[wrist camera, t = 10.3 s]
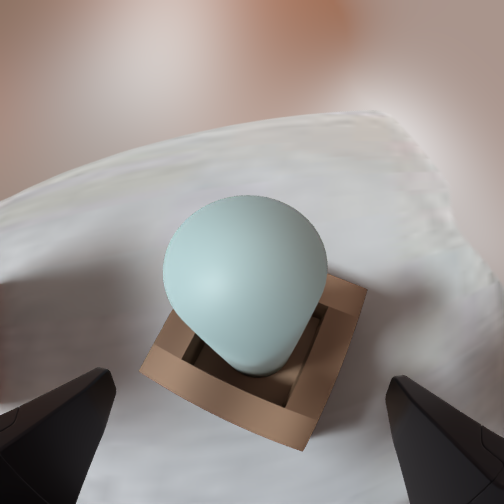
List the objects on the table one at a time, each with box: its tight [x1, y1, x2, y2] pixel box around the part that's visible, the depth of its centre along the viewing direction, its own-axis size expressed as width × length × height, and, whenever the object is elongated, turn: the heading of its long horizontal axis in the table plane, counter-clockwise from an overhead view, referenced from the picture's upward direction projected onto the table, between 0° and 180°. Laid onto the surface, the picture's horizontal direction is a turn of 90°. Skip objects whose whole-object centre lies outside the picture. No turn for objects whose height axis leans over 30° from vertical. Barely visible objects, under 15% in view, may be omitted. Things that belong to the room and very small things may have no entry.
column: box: [163, 195, 327, 378], centre depth 13 cm, size 4×4×12 cm
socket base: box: [139, 274, 367, 451], centre depth 18 cm, size 10×10×4 cm
